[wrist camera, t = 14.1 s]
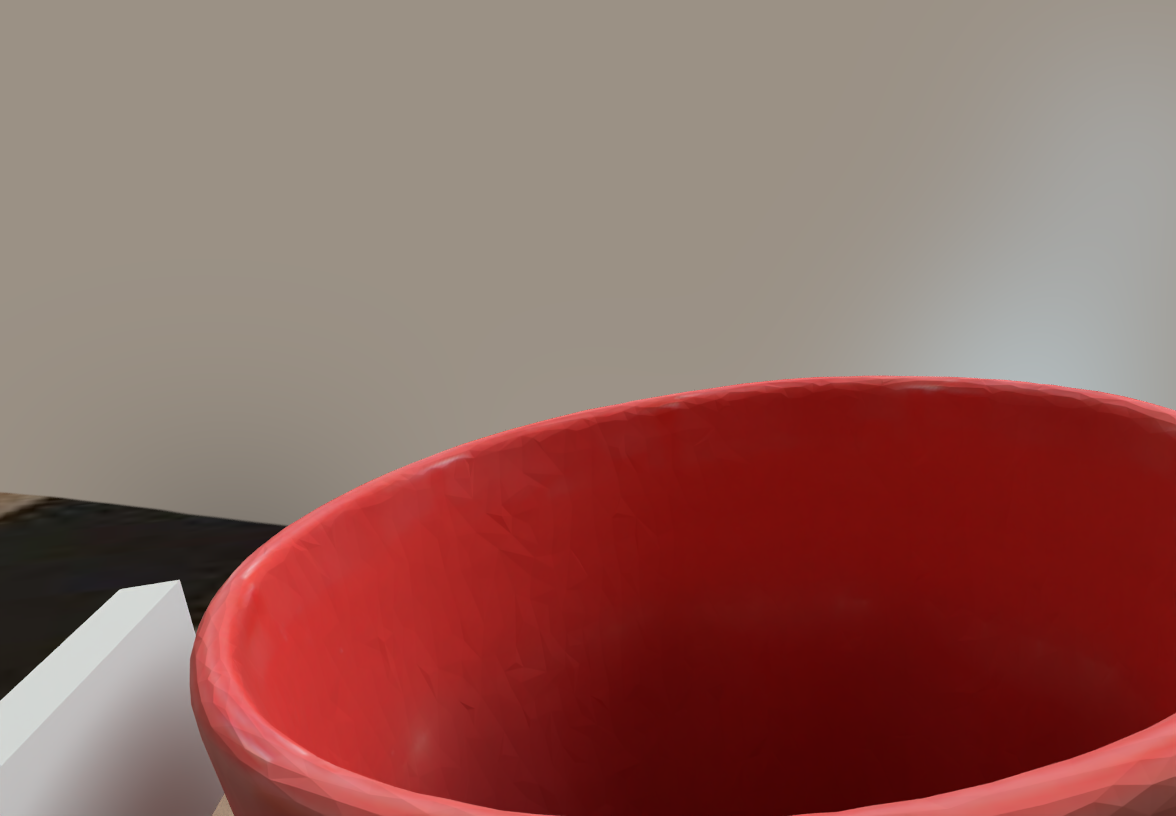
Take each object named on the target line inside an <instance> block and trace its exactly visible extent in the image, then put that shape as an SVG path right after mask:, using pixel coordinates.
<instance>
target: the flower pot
mask: <svg viewBox="0 0 1176 816" xmlns="http://www.w3.org/2000/svg"><path fill="white" fill-rule="evenodd" d="M190 696H191V706H192V709H193V712H194V716H195V719H196V722H197V726H198V729H199V732H200V736H201V739H202V741H203V744H204V746H205V748H206V751H207V753H208V755H209V758H210V760H211V762H212V765H213V767H214V769H215V772H216V774H217V776H218V779H219V781H220V784H221V786H222V788H223V791H224V793H225V795H226V798H227V800H228V802H229V805H230V807H231V809H232V812H233V814H234V816H1176V410H1172V409H1168V408H1165V407H1162V406H1158V405H1155V404H1151V403H1148V402H1144V401H1140V400H1136V399H1132V398H1128V397H1124V396H1119V395H1114V394H1108V393H1104V392H1098V391H1091V390H1084V389H1076V388H1068V387H1062V386H1056V385H1045V384H1036V383H1029V382H1021V381H1010V380H996V379H978V378H963V377H929V376H928V377H926V376H852V377H851V376H850V377H813V378H798V379H783V380H775V381H765V382H755V383H745V384H737V385H731V386H724V387H717V388H711V389H704V390H697V391H689V392H683V393H677V394H670V395H665V396H659V397H654V398H647V399H641V400H636V401H631V402H627V403H622V404H617V405H611V406H605V407H600V408H594V409H589V410H585V411H581V412H577V413H572V414H568V415H564V416H560V417H556V418H552V419H548V420H544V421H540V422H536V423H533V424H529V425H525V426H522V427H518V428H514V429H511V430H507V431H503V432H500V433H497V434H494V435H490V436H487V437H484V438H481V439H478V440H474V441H471V442H468V443H465V444H462V445H459V446H456V447H453V448H450V449H448V450H445V451H442V452H440V453H437V454H434V455H432V456H430V457H427V458H424V459H421V460H419V461H417V462H414V463H411V464H409V465H406V466H404V467H401V468H399V469H396V470H394V471H392V472H389V473H387V474H385V475H383V476H380V477H378V478H376V479H374V480H371V481H369V482H367V483H365V484H363V485H361V486H359V487H357V488H355V489H353V490H351V491H349V492H347V493H345V494H343V495H341V496H339V497H337V498H335V499H333V500H331V501H330V502H328V503H326V504H324V505H322V506H320V507H319V508H317V509H315V510H314V511H312V512H310V513H309V514H307V515H305V516H304V517H302V518H300V519H299V520H297V521H296V522H294V523H292V524H291V525H289V526H287V527H286V528H284V529H283V530H282V531H280V532H279V533H278V534H276V535H275V536H274V537H272V538H271V539H270V540H268V541H267V542H266V543H265V544H263V545H262V546H261V547H259V548H258V549H257V550H256V551H255V552H253V553H252V554H251V555H250V556H249V557H248V558H247V559H246V560H245V561H244V562H243V563H242V564H241V565H240V566H239V567H238V568H237V569H236V570H235V571H234V572H233V573H232V575H231V576H230V577H229V578H228V579H227V581H226V582H225V583H224V584H223V585H222V587H221V588H220V589H219V590H218V592H217V593H216V595H215V596H214V598H213V599H212V600H211V602H210V604H209V606H208V608H207V610H206V612H205V614H204V615H203V617H202V620H201V622H200V624H199V627H198V630H197V634H196V637H195V641H194V645H193V649H192V653H191V657H190Z"/></svg>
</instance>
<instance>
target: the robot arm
mask: <svg viewBox="0 0 1176 816" xmlns="http://www.w3.org/2000/svg"><path fill="white" fill-rule="evenodd" d="M195 637H196V635H195V632H194V628H193V625H192V621H191V618H190V614H189V611H188V607H187V604H186V600H185V597H184V593H183V590H182V586H181V583H180V580H176V581H169V582H163V583H157V584H151V585H144V586H138V587H132V588H126V589H120V590H119V591H118V592H117V593H116V594H115V595H113V596H112V597H111V598H110V599H109V600H108V601H107V602H106V603H105V604H104V605H103V606H102V607H101V608H100V609H98V610H97V611H96V612H95V613H94V614H93V615H92V616H91V617H90V618H89V619H88V620H87V621H86V622H84V623H83V624H82V625H81V626H80V627H79V628H78V629H77V630H76V631H75V632H74V633H73V634H72V635H71V636H69V637H68V638H67V639H66V640H65V641H64V642H63V643H62V644H61V645H60V646H59V647H58V648H57V649H56V650H54V651H53V652H52V653H51V654H50V655H49V656H48V657H47V658H46V659H45V660H44V661H43V662H42V663H40V664H39V665H38V666H37V667H36V668H35V669H34V670H33V671H32V672H31V673H30V674H29V675H28V676H27V677H25V678H24V679H23V680H22V681H21V682H20V683H19V684H18V685H17V686H16V687H15V688H14V689H13V690H12V691H10V692H9V693H8V694H7V695H6V696H5V697H4V698H3V699H2V700H1V701H0V816H212V814H213V812H214V811H215V809H216V807H217V805H218V804H219V802H220V800H221V798H222V797H223V795H224V791H223V788H222V786H221V784H220V781H219V779H218V776H217V774H216V772H215V769H214V767H213V765H212V762H211V760H210V758H209V755H208V753H207V751H206V748H205V746H204V744H203V741H202V739H201V736H200V732H199V729H198V726H197V722H196V719H195V716H194V712H193V709H192V706H191V696H190V657H191V653H192V649H193V645H194V641H195Z"/></svg>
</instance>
